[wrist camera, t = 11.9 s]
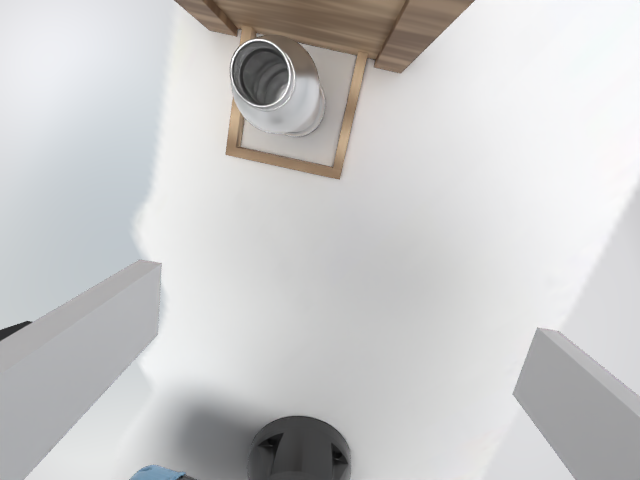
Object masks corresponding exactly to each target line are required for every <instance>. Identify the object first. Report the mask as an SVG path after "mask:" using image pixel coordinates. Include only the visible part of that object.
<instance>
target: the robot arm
mask: <svg viewBox="0 0 640 480" xmlns="http://www.w3.org/2000/svg"><path fill="white" fill-rule="evenodd" d="M161 267H162V263H157V262H151V261H145V260H138V261H136V262H135V263H133V264H131V265H129V266H128V267H126V268H124V269H122V270H121V271H119V272H118V273H116V274H114V275H112V276H110V277H109V278H107V279H105V280H104V281H102V282H100V283H99V284H97V285H95V286H93V287H92V288H90V289H88V290H87V291H85V292H83V293H82V294H80V295H78V296H76V297H75V298H73V299H71V300H70V301H68V302H66V303H65V304H63V305H61V306H60V307H58V308H56V309H54V310H53V311H51V312H49V313H48V314H46V315H44V316H42V317H41V318H39V319H37V320H36V321H34V322H30V321H26V322H23V323H20V324H17V325H14V326H11V327H8V328H5V329H2V330H0V480H24V479H25V478H26V477H27V476H28V475H29V473H30V472H31V471H32V470H33V469H34V468H35V467H36V466H37V465H38V464H39V463H40V462H41V460H42V459H43V458H44V457H45V456H46V455H47V454H48V453H49V452H50V451H51V449H52V448H53V447H54V446H55V445H56V444H57V443H58V442H59V441H60V440H61V439H62V438H63V437H64V436H65V434H66V433H67V432H68V431H69V430H70V429H71V428H72V427H73V426H74V425H75V424H76V423H77V421H78V420H79V419H80V418H81V417H82V416H83V415H84V414H85V413H86V412H87V411H88V410H89V408H90V407H91V406H92V405H93V404H94V403H95V402H96V401H97V400H98V399H99V398H100V397H101V395H102V394H103V393H104V392H105V391H106V390H107V389H108V388H109V387H110V386H111V385H112V384H113V382H114V381H115V380H116V379H117V378H118V377H119V376H120V375H121V374H122V373H123V372H124V370H125V369H126V368H127V367H128V366H129V365H130V364H131V363H132V362H133V361H134V360H135V359H136V358H137V356H138V355H139V354H140V353H141V352H142V351H143V350H144V349H145V348H146V347H147V346H148V345H149V343H150V342H151V341H152V340H153V339H154V338H155V337H156V336H157V335H158V321H159V303H160V302H159V301H160V285H161ZM513 395H514V397H515V398H516V399H517V401H518V402H519V404H520V405H521V406H522V408H523V409H524V410H525V412H526V413H527V414H528V416H529V417H530V418H531V420H532V421H533V423H534V424H535V425H536V427H537V428H538V429H539V431H540V432H541V433H542V435H543V436H544V437H545V439H546V440H547V442H548V443H549V444H550V446H551V447H552V448H553V450H554V451H555V452H556V454H557V455H558V456H559V458H560V459H561V461H562V462H563V463H564V465H565V466H566V467H567V468H568V470H569V472H570V473H571V474H572V476H573V477H574V478H575V480H640V396H638V395H637V394H636V393H635V392H633V391H632V390H631V389H630V388H628V387H627V386H626V385H625V384H624V383H622V382H621V381H620V380H619V379H617V378H616V377H615V376H614V375H612V374H611V373H610V372H609V371H607V370H606V369H605V368H604V367H603V366H601V365H600V364H599V363H598V362H596V361H595V360H594V359H593V358H591V357H590V356H589V355H587V354H586V353H585V352H584V351H583V350H581V349H580V348H579V347H578V346H576V345H575V344H574V343H573V342H572V341H570V340H569V339H568V338H567V337H565V336H564V335H563V334H562V333H560V332H559V331H555V330H549V329H543V328H537V330H536V332H535V335H534V338H533V340H532V343H531V346H530V348H529V351H528V354H527V357H526V359H525V362H524V365H523V367H522V370H521V373H520V376H519V378H518V381H517V384H516V386H515V389H514V392H513ZM247 468H248V480H350V474H351V460H350V451H349V448H348V445H347V443H346V441H345V440H344V438H343V437H342V436H341V435H340V433H338V432H337V431H336V430H335V429H334V428H332V427H331V426H329V425H328V424H326V423H324V422H322V421H319V420H316V419H312V418H308V417H287V418H282V419H279V420H276V421H274V422H272V423H270V424H268V425H267V426H265V427H264V428H263V429H262V430H261V431H260V432H259V433H258V434H257V435H256V437H255V438H254V440H253V443H252V446H251V450H250V453H249V457H248V465H247ZM129 480H197V479H194V478H192V477H190V476H187V475H186V473H185V472H175V471H172V470H169V469H167V468H164V467H161V466H158V465H149V466H146V467H144V468H142V469H140V470H139V471H138V472H137V473H135V474H134V475H133V476H132V477H131V478H130V479H129Z"/></svg>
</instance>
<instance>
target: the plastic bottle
mask: <svg viewBox="0 0 640 480" xmlns="http://www.w3.org/2000/svg"><path fill="white" fill-rule="evenodd" d="M230 78H231V86H232V93H233V97H234V101H235V103H236V105H237V107H238V109H239V111H240V112H241V114H242V115H243V117H244V118H245V119H246V120H247V121H248V122H249V123H250V124H252V125H253V126H255V127H256V128H258V129H260V130H262V131H264V132H268V133H273V134H285V135H287V136H291V137H300V136H305V135H307V134H309V133H311V132H312V131H313V130H315V129H316V128H317V127H318V125H319V124H320V122H321V121H322V118H323V116H324V112H325V96H324V92H323V90H322V87H321V86H320V84H319V77H318V72H317V69H316V67H315V64H314V62H313V60H312V58H311V57H310V55H309V53H308V52H307V51H306V50H305V49H304V48H303V47H302V46H301V45H300V44H298V43H297V42H296V41H294V40H292V39H290V38H288V37H286V36H281V35H264V36H260V37H257V38H254V39H251V40H248V41H246V42H244V43H243V44H241V45H240V46H239V47H238V48H237V50H236V51H235V53H234V55H233V57H232V60H231V63H230Z"/></svg>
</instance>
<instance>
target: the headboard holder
mask: <svg viewBox="0 0 640 480" xmlns="http://www.w3.org/2000/svg"><path fill="white" fill-rule="evenodd" d="M174 1H176V2H177V3H178V4H179V5H180V6H181V7H183V8H184V9H185V10H186V11H187V12H188V13H190V14H191V15H192V16H193V17H194V18H195V19H197V20H198V21H199V22H200V23H201V24H203V25H204V26H205V27H206V28H207V29H208V30H210V31H215V32H219V33H224V34H228V35H232V36H237V32H238V29H241V30H242V32H241V39H240V45H241V44H243V43H244V42H246V41H248V40H251V39H254V38H256V33H259V34H264V35H281V36H286V37H288V38H290V39H292V40H294V41H296V42H299V43H304V44H308V45H312V46H317V47H321V48H326V49H330V50H335V51H339V52H343V53H348V54H352V55H357V59H356V64H355V68H354V73H353V77H352V82H351V87H350V91H349V96H348V100H347V105H346V110H345V114H344V119H343V123H342V128H341V132H340V137H339V142H338V146H337V151H336V155H335V160H334V165H333V167H329V166H325V165H320V164H316V163H311V162H306V161H302V160H297V159H293V158H288V157H284V156H279V155H274V154H270V153H265V152H261V151H256V150H252V149H247V148H242V147H240V145H241V138H242V131H243V124H244V117H243V115H242V114H241V112H240V111H239V109H238V107H237V105H236V103H235V101H234V97H233V101H232V108H231V116H230V124H229V131H228V139H227V147H226V155H229V156H234V157H239V158H243V159H248V160H252V161H257V162H262V163H266V164H271V165H275V166H280V167H284V168H289V169H294V170H298V171H303V172H307V173H312V174H317V175H321V176H326V177H330V178H335V179H339V180H340V175H341V171H342V167H343V162H344V158H345V153H346V149H347V144H348V140H349V136H350V131H351V127H352V122H353V118H354V113H355V109H356V104H357V100H358V96H359V91H360V87H361V82H362V78H363V73H364V69H365V65H366V60H367V58H370V59H375V64H374V67H375V68H379V69H384V70H388V71H393V72H397V73H402V72H403V71H404V70H405V69H406V68H407V67H408V66H409V65H410V64H411V63H412V62H413V61H414V60H415V59H416V58H417V57H418V56H419V55H420V54H421V53H422V52H423V51H424V50H425V49H426V48H427V47H428V46H429V45H430V44H431V43H432V42H433V41H434V40H435V39H436V38H437V37H438V36H439V35H440V34H441V33H442V32H443V31H444V30H445V29H446V28H447V27H448V26H449V25H450V24H451V23H452V22H453V21H454V20H455V19H456V18H457V17H458V16H459V15H460V14H461V13H463V12H464V11H465V10H466V9H467V8H468V7H469V6H470V5H471V4H472V3H473V2H474V1H475V0H174Z"/></svg>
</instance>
